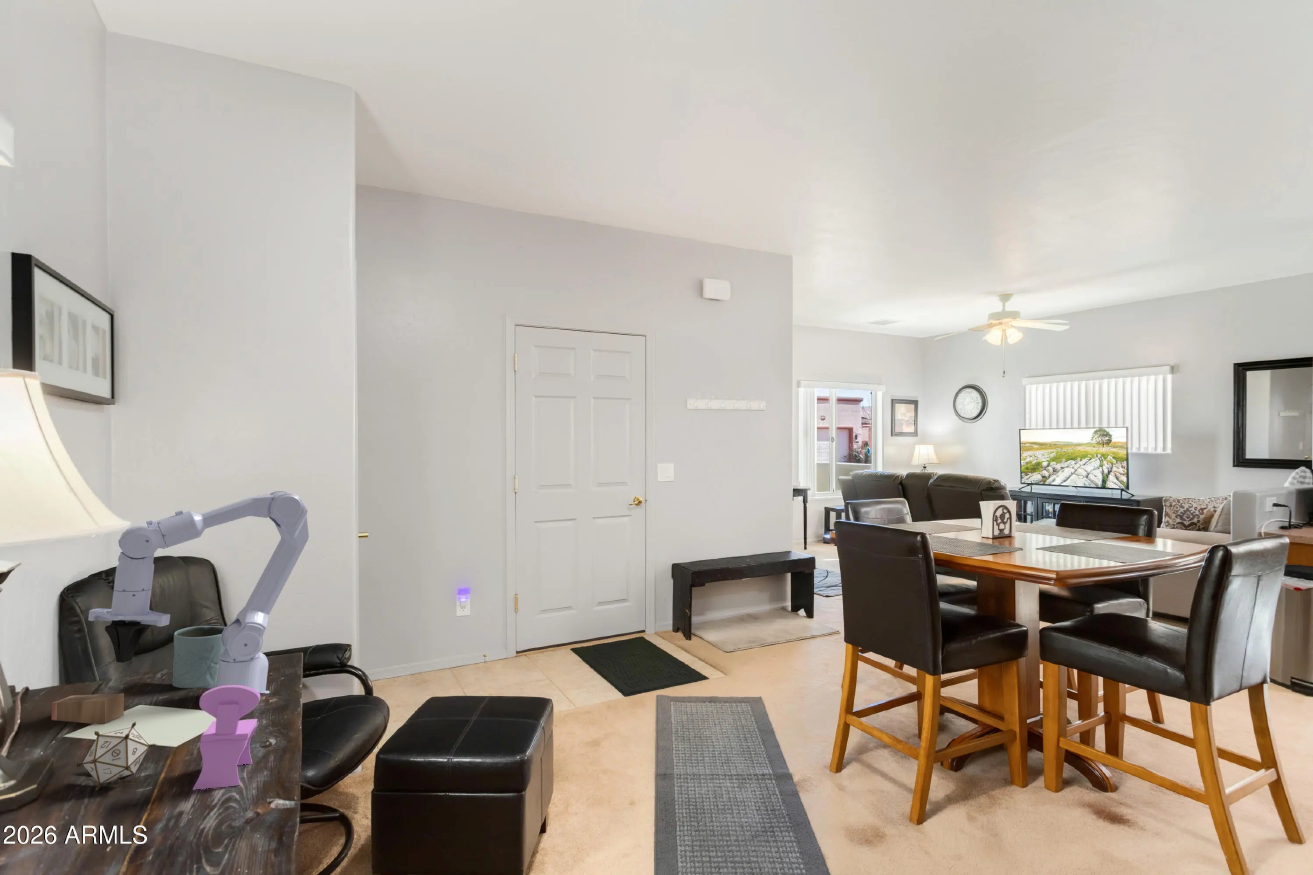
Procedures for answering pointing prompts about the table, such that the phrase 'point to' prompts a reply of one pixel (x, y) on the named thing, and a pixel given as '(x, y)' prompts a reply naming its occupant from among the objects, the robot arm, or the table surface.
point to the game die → (115, 755)
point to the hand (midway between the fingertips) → (124, 661)
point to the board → (154, 725)
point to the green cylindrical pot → (197, 656)
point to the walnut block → (89, 708)
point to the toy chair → (226, 734)
